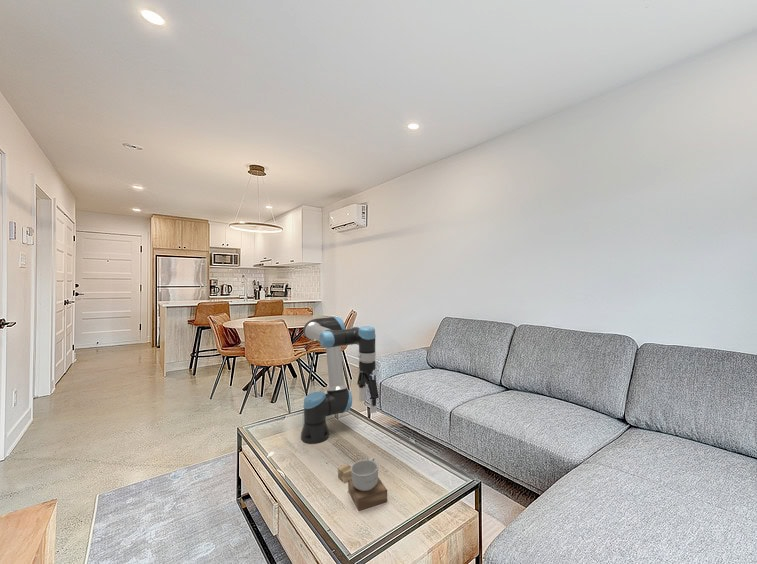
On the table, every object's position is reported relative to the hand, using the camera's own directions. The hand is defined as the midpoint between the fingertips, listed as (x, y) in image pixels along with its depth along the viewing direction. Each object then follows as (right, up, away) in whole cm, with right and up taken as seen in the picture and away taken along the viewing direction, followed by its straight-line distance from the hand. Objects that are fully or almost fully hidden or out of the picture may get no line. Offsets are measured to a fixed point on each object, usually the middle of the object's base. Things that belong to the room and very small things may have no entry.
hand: (367, 406), depth 151 cm
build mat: (0, -30, -18) cm, 34 cm away
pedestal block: (+1, -29, -19) cm, 35 cm away
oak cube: (-9, -29, -7) cm, 31 cm away
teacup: (0, -24, -19) cm, 31 cm away
